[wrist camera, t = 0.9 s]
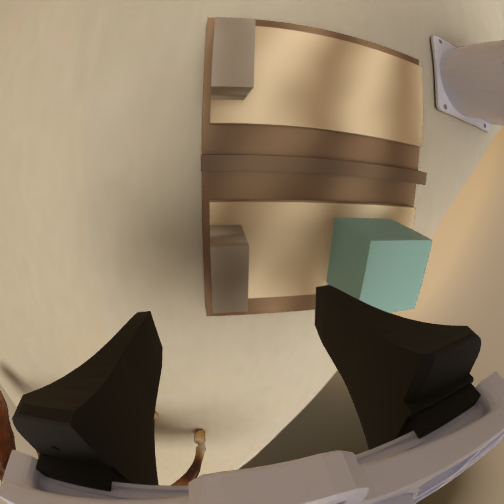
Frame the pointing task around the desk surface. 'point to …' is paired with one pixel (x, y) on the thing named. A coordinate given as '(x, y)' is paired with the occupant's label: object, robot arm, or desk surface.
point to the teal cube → (378, 262)
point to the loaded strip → (278, 245)
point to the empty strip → (312, 83)
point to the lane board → (297, 167)
